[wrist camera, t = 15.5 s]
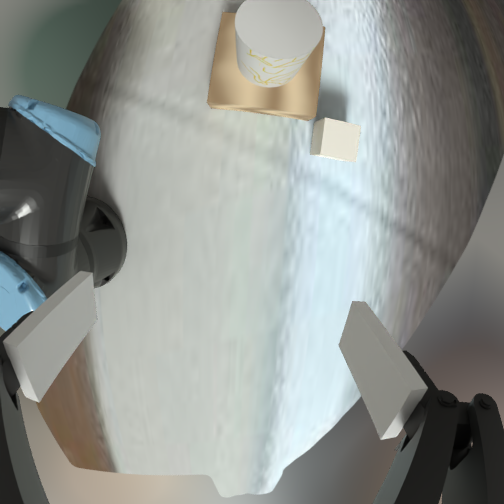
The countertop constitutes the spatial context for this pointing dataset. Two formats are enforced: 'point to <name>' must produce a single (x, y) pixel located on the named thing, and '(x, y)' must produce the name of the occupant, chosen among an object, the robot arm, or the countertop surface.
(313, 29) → the grey cylinder
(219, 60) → the oak block
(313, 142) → the cream block
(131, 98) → the countertop surface
